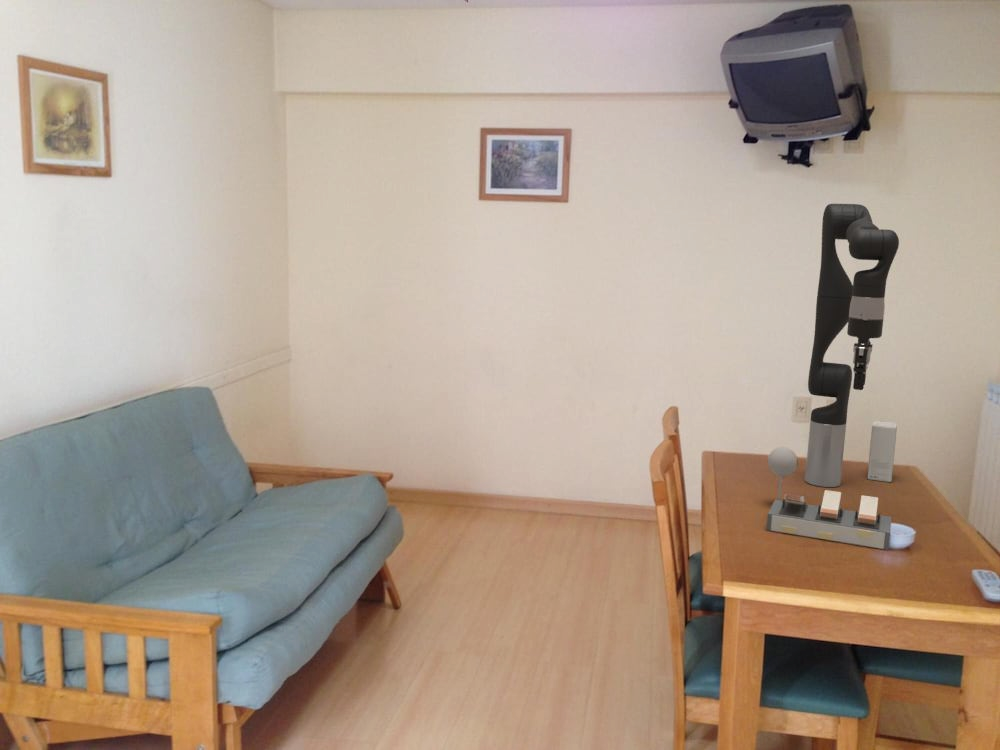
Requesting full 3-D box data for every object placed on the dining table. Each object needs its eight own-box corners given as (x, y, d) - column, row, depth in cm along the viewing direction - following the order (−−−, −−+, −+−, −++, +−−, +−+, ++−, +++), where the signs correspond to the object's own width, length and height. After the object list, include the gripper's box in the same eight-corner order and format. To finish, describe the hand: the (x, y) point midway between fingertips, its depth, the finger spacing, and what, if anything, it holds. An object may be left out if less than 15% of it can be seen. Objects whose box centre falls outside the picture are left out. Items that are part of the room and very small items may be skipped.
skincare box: (891, 483, 251) (897, 428, 248) (865, 479, 253) (871, 425, 251) (892, 475, 258) (898, 422, 255) (867, 472, 261) (873, 419, 258)
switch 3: (861, 499, 209) (861, 495, 208) (877, 501, 208) (878, 497, 207) (857, 521, 202) (858, 517, 201) (875, 524, 200) (875, 520, 200)
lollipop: (795, 510, 224) (800, 452, 221) (765, 508, 225) (770, 449, 222) (791, 502, 230) (797, 445, 228) (763, 499, 232) (767, 442, 229)
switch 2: (824, 494, 212) (824, 489, 212) (840, 496, 211) (841, 492, 210) (820, 516, 205) (820, 511, 204) (836, 518, 204) (837, 514, 203)
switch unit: (773, 515, 220) (775, 491, 219) (889, 533, 209) (892, 508, 208) (766, 530, 208) (768, 505, 207) (888, 550, 198) (891, 524, 197)
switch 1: (788, 500, 216) (788, 495, 216) (803, 502, 214) (804, 497, 215) (784, 498, 208) (785, 493, 208) (800, 501, 206) (801, 495, 206)
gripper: (850, 312, 218) (844, 380, 221) (846, 317, 205) (839, 390, 208) (884, 314, 215) (877, 384, 218) (882, 320, 202) (874, 394, 205)
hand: (858, 386), depth 213 cm, fingers open, 6 cm apart
